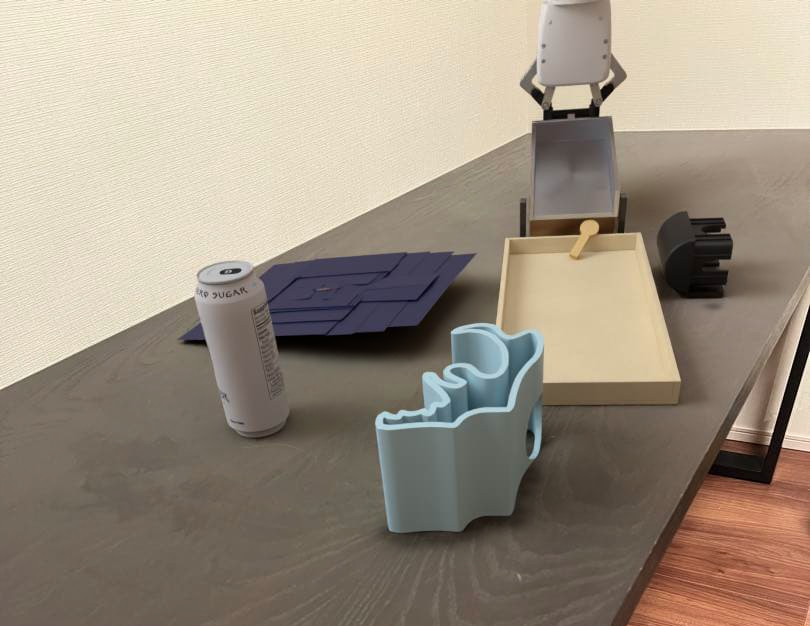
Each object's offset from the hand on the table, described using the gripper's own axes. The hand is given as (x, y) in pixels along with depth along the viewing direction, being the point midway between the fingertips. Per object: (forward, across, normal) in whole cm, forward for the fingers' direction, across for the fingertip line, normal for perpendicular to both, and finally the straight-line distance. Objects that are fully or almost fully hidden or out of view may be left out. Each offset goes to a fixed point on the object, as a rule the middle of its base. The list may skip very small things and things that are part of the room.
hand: (570, 135), depth 116 cm
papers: (+9, +29, +41) cm, 51 cm away
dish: (+2, 0, +11) cm, 11 cm away
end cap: (+9, -13, +35) cm, 39 cm away
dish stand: (+9, 0, +13) cm, 16 cm away
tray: (+9, 0, +44) cm, 45 cm away
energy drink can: (+9, +31, +67) cm, 74 cm away
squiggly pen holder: (+9, +10, +75) cm, 76 cm away
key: (+6, -2, +25) cm, 26 cm away
